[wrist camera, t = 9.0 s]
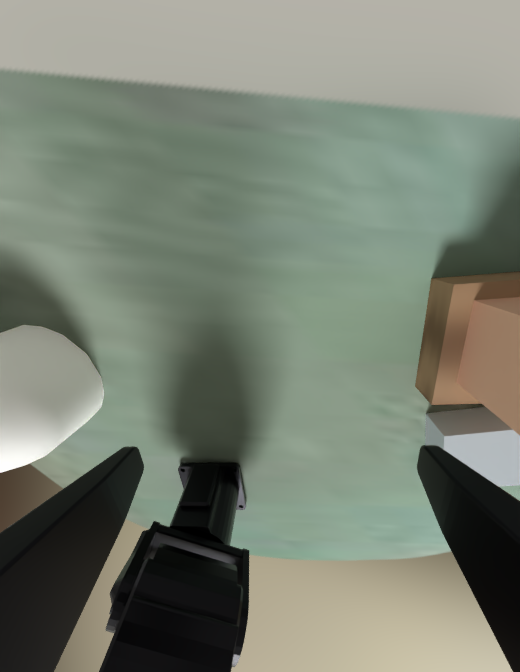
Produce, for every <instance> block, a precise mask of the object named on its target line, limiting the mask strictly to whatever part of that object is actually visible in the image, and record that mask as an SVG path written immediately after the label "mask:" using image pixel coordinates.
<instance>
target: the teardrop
mask: <svg viewBox="0 0 520 672" xmlns="http://www.w3.org/2000/svg"><path fill="white" fill-rule="evenodd" d="M103 397H104V389H103V383H102V378H101V376H100V374H99V373H98V371H97V369H96V368H95V366H94V365H93V363H92V361H91V360H90V358H89V356H88V355H87V354H86V353H85V352H84V351H83V350H81V349H80V348H79V347H78V346H76V345H75V344H74V343H73V342H71V341H70V340H69V339H67V338H66V337H65V336H64V335H62V334H60V333H57V332H55V331H52V330H50V329H47V328H45V327H40V326H31V325H21V326H19V327H16V328H13V329H10V330H7V331H4V332H1V333H0V473H1V472H4V471H7V470H11V469H14V468H17V467H21V466H24V465H27V464H29V463H31V462H33V461H35V460H38V459H40V458H42V457H44V456H46V455H47V454H48V453H50V452H51V451H52V450H53V449H54V448H56V447H57V446H58V445H59V444H60V443H62V442H63V441H64V440H65V439H67V438H68V437H69V436H70V435H71V434H73V433H74V432H75V431H76V430H78V429H79V428H80V427H81V426H82V425H84V424H85V423H86V422H87V421H88V420H89V419H90V418H91V417H92V416H93V415H94V414H95V413H96V412H97V411H98V410H99V409H100V408H101V407H102V402H103Z"/></svg>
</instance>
